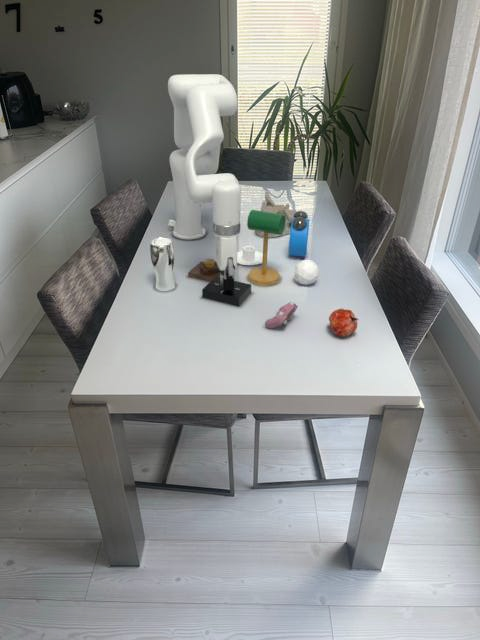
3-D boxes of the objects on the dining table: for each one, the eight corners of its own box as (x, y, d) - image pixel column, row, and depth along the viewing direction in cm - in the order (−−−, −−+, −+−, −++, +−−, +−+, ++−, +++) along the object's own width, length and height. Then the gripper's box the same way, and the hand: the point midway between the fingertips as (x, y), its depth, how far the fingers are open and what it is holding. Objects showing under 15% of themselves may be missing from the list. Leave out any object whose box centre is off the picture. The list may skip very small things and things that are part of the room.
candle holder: (248, 249, 167) (249, 238, 164) (273, 259, 160) (274, 248, 157) (224, 259, 160) (224, 247, 157) (249, 270, 153) (249, 258, 150)
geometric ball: (309, 292, 146) (317, 282, 138) (287, 281, 146) (293, 270, 139) (318, 274, 149) (326, 262, 141) (296, 263, 149) (303, 251, 141)
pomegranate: (322, 341, 123) (348, 336, 114) (316, 314, 123) (341, 308, 114) (343, 335, 127) (369, 330, 118) (336, 310, 127) (362, 303, 118)
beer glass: (158, 294, 139) (153, 248, 130) (150, 284, 144) (146, 239, 136) (179, 289, 141) (176, 243, 133) (171, 279, 147) (168, 235, 138)
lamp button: (202, 267, 147) (201, 262, 146) (207, 262, 150) (207, 257, 149) (212, 269, 146) (211, 264, 145) (217, 264, 149) (217, 259, 148)
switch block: (188, 276, 148) (187, 267, 146) (201, 265, 155) (201, 256, 153) (218, 284, 144) (218, 274, 143) (231, 272, 151) (231, 262, 149)
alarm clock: (305, 263, 157) (309, 221, 149) (287, 261, 158) (290, 220, 150) (306, 247, 168) (310, 208, 160) (290, 246, 169) (292, 207, 161)
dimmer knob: (221, 290, 135) (221, 276, 132) (219, 284, 138) (219, 269, 135) (234, 289, 135) (234, 274, 133) (232, 283, 139) (232, 268, 136)
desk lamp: (243, 282, 146) (244, 215, 134) (255, 269, 153) (257, 205, 141) (272, 288, 142) (276, 220, 130) (283, 275, 150) (288, 210, 138)
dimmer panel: (202, 298, 137) (202, 288, 135) (216, 285, 144) (215, 276, 142) (238, 307, 133) (239, 297, 131) (251, 293, 140) (251, 284, 138)
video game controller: (275, 336, 123) (287, 320, 118) (262, 325, 124) (273, 309, 119) (291, 319, 130) (303, 304, 125) (279, 309, 131) (290, 293, 126)
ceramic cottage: (251, 235, 177) (255, 197, 169) (260, 222, 191) (264, 186, 183) (291, 242, 174) (297, 203, 167) (297, 228, 188) (303, 191, 180)
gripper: (208, 217, 133) (210, 274, 143) (218, 240, 119) (219, 301, 129) (233, 216, 134) (233, 272, 144) (246, 238, 120) (245, 298, 130)
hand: (226, 285), depth 136 cm, fingers closed on dimmer knob, 4 cm apart
